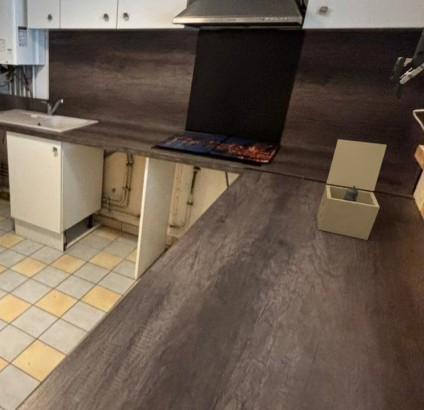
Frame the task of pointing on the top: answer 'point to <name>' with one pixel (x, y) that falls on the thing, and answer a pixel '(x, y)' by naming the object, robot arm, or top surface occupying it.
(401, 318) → the top surface
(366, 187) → the lid
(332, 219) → the tan open box
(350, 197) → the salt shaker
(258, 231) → the top surface
